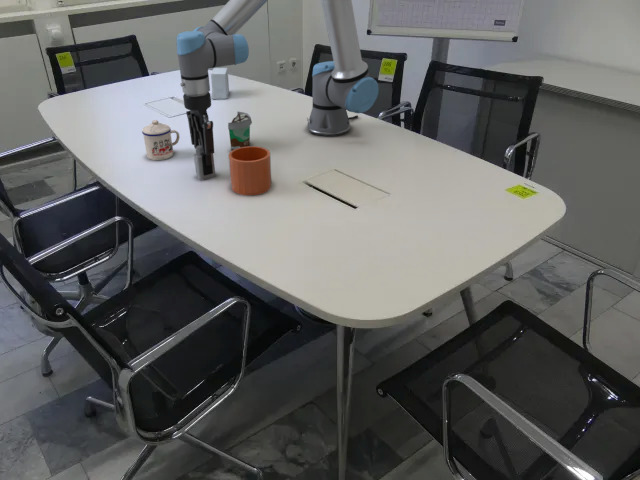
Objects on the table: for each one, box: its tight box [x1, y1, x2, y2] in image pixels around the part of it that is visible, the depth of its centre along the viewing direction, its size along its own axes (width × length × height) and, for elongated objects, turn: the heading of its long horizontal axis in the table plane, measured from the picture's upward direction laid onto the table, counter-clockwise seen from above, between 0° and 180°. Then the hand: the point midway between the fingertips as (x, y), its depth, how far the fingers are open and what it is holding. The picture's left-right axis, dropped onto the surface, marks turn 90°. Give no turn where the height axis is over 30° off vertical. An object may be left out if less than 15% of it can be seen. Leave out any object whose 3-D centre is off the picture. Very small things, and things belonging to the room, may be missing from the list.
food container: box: [227, 111, 253, 152], centre depth 179 cm, size 12×6×10 cm, turn 168°
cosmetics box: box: [210, 67, 230, 100], centre depth 228 cm, size 10×6×10 cm, turn 179°
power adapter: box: [193, 139, 216, 181], centre depth 159 cm, size 3×5×12 cm, turn 126°
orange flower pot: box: [228, 145, 272, 196], centre depth 152 cm, size 12×12×10 cm
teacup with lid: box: [141, 119, 181, 161], centre depth 174 cm, size 12×9×12 cm
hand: (205, 171), depth 161 cm, fingers closed on power adapter, 3 cm apart
